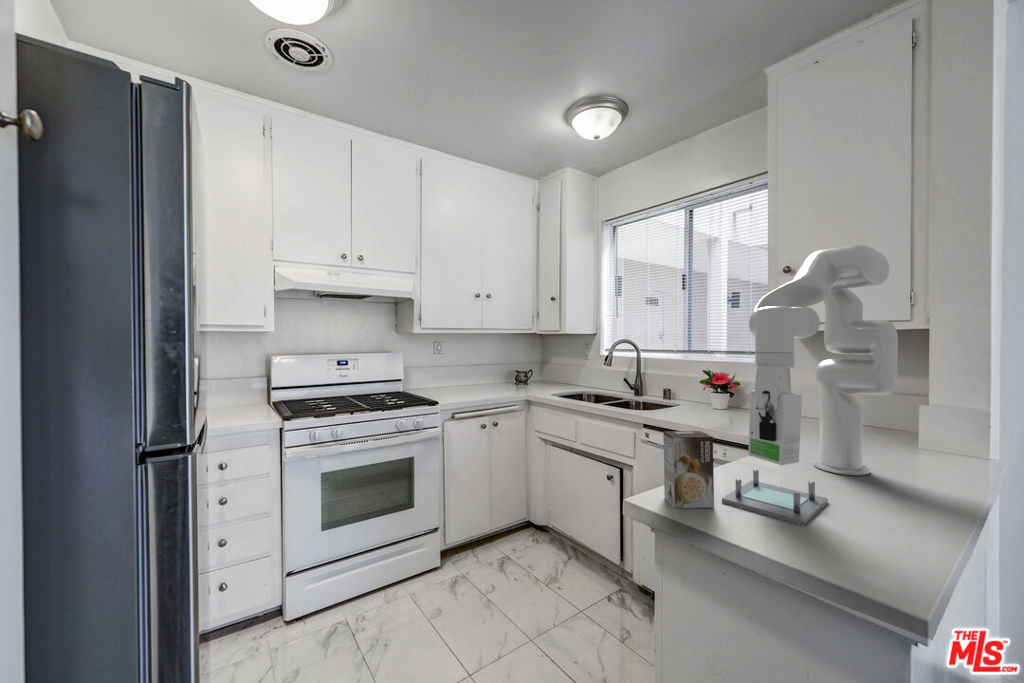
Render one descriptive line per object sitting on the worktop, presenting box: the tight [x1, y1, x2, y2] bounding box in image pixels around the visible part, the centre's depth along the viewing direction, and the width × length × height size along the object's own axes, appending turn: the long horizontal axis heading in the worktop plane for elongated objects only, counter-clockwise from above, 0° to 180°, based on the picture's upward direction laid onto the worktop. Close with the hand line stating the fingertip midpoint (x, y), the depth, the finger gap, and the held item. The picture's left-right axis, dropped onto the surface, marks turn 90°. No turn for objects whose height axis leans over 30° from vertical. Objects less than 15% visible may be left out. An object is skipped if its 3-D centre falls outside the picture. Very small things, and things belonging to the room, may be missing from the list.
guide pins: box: [735, 468, 816, 514], centre depth 95 cm, size 12×13×4 cm
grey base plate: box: [721, 479, 829, 527], centre depth 95 cm, size 18×16×1 cm
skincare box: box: [747, 389, 803, 466], centre depth 95 cm, size 8×7×16 cm
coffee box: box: [662, 430, 715, 509], centre depth 96 cm, size 9×6×16 cm
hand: (774, 436), depth 95 cm, fingers closed on skincare box, 7 cm apart
